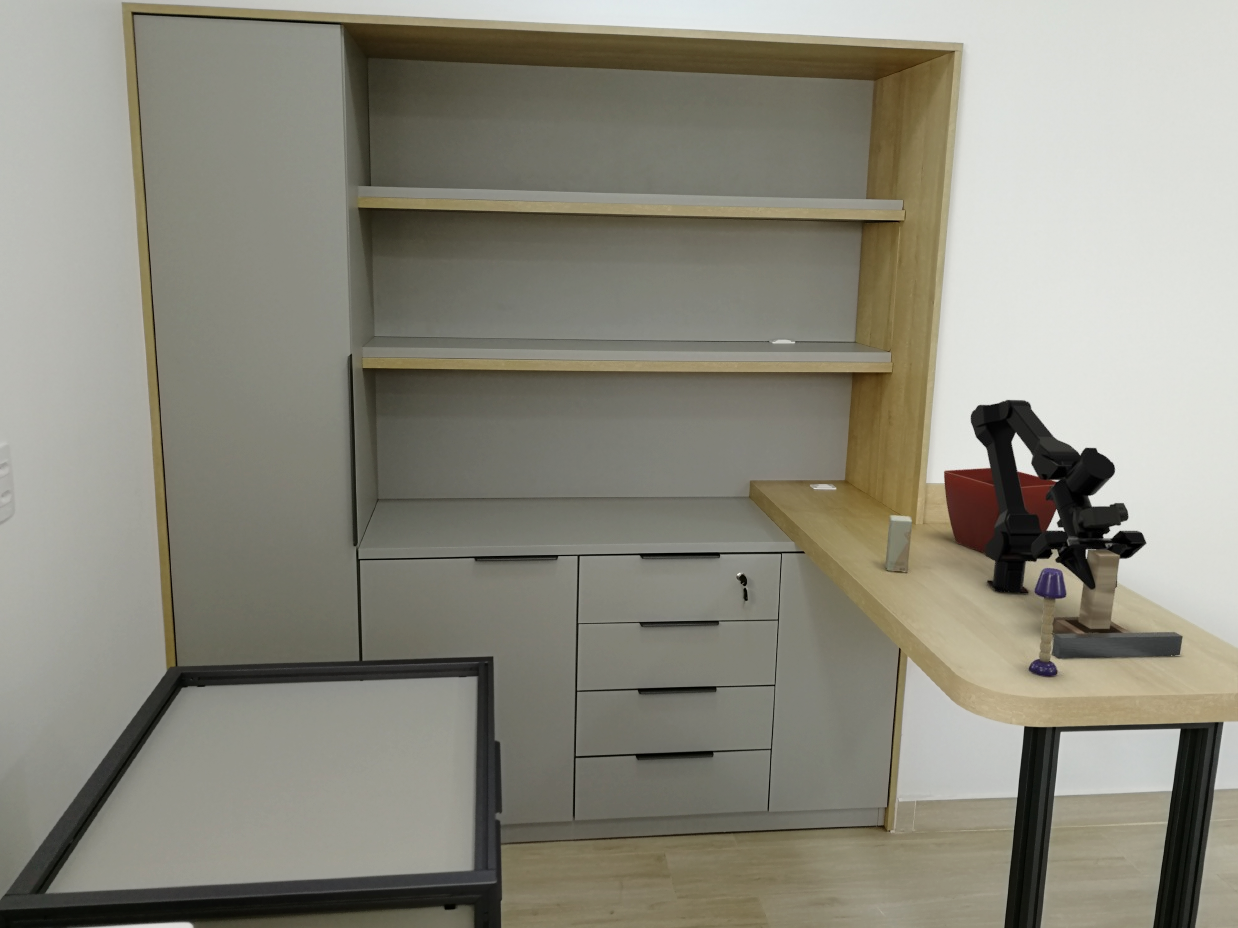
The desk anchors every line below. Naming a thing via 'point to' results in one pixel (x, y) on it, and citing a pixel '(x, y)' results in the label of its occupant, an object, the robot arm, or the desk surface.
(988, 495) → the plant pot
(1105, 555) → the wooden square post
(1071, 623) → the collar
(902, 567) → the box
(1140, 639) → the rail
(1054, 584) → the toy lamp
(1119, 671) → the desk surface
